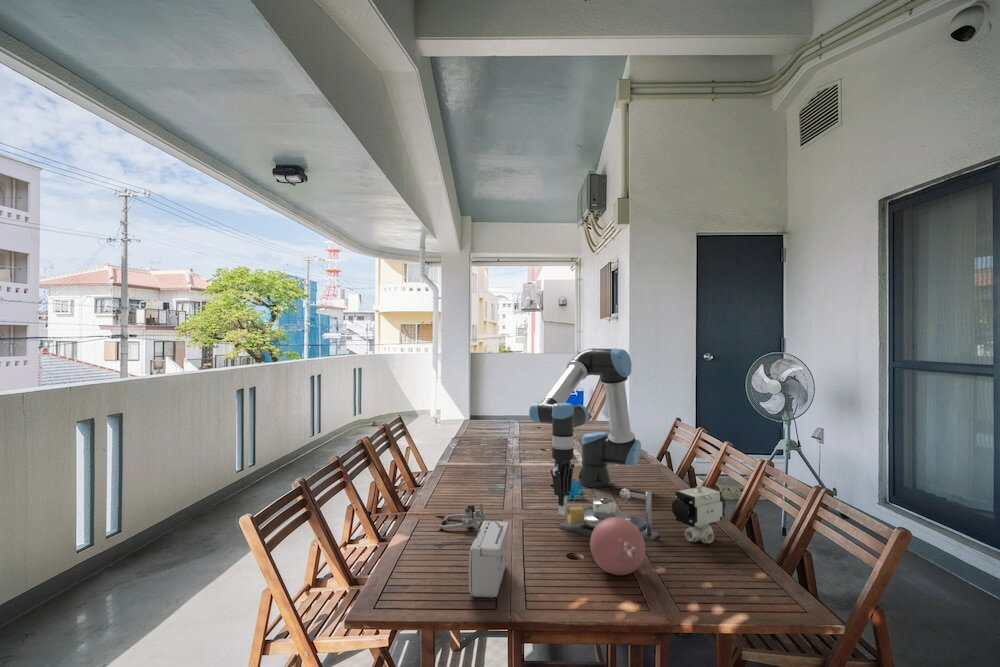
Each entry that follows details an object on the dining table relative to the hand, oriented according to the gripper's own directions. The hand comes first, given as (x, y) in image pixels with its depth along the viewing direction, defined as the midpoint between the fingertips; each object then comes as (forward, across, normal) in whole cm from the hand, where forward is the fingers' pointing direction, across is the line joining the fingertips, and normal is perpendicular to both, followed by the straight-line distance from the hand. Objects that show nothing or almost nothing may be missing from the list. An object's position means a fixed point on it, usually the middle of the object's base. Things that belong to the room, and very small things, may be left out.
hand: (562, 513), depth 179 cm
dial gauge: (+5, -11, +23) cm, 26 cm away
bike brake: (+5, +21, -32) cm, 38 cm away
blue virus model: (+5, -31, -13) cm, 34 cm away
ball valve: (+5, -18, +42) cm, 46 cm away
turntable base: (+5, -11, +11) cm, 16 cm away
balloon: (+5, +22, +31) cm, 38 cm away
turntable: (+3, -9, +10) cm, 14 cm away
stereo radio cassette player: (+5, +46, +4) cm, 47 cm away
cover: (+2, -11, +11) cm, 15 cm away
